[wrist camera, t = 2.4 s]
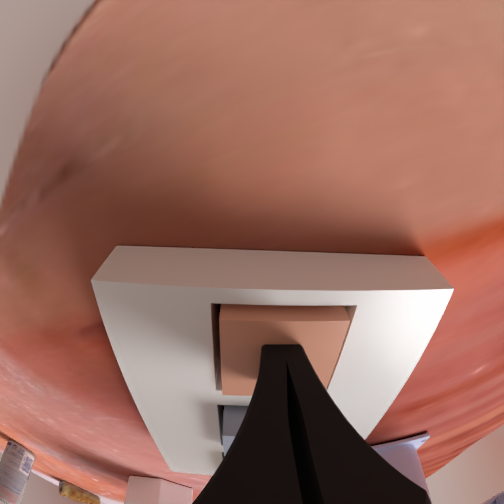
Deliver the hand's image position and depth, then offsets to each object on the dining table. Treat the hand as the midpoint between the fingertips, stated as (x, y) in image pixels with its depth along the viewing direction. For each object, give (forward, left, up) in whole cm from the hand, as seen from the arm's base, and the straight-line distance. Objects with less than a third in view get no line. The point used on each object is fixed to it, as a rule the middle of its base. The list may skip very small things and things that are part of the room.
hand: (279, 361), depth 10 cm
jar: (-31, +11, -3) cm, 33 cm away
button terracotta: (0, 0, -3) cm, 3 cm away
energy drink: (-35, +37, -3) cm, 51 cm away
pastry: (-55, +35, -3) cm, 65 cm away
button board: (-6, 0, -3) cm, 7 cm away
